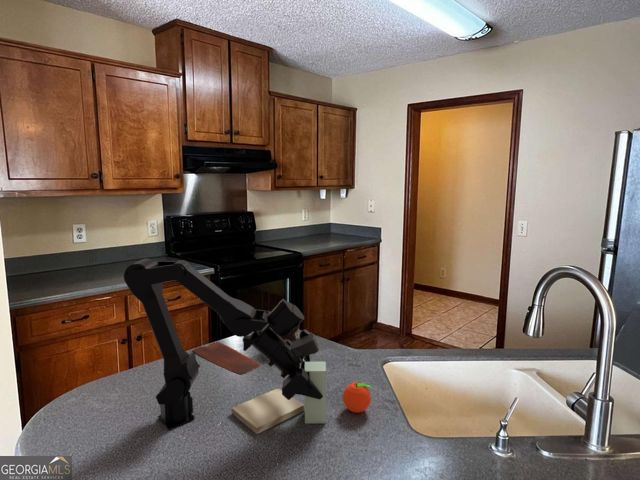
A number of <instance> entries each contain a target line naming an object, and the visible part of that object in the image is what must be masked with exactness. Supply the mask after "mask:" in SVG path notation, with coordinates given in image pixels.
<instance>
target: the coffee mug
mask: <svg viewBox="0 0 640 480" xmlns="http://www.w3.org/2000/svg"><path fill="white" fill-rule="evenodd" d="M300 325H301V323H300V324H299V325H298V326H297V327H296V328H295V329H294V330H293V331H291V332H290V333H289V334H288V335H287V336H283V337H282V336H280V337H281V338H282V339H283V340H284V341H285V340H286V339H287V340H288V339H289V340H290V341H291V342H294V341H296V340H297V338H298V339H299V336H300Z"/></svg>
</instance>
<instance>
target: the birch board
mask: <svg viewBox="0 0 640 480" xmlns="http://www.w3.org/2000/svg"><path fill="white" fill-rule="evenodd" d="M302 412H305V403H302V402H301V401H300V400H298V399H296V398H295V397H294V396H293V397H292V398H291V399H290V400H287V399H286V398H285V397H284V396H283V395H282V389H280V388H275V389H273V390H271V391H268V392H266V393H263V394H261V395H259V396H256V397H254V398H251V399H249V400H247V401H245V402H242V403H240V404H238V405H235V406H233V407H232V408H231V414H232V415H233V416H235V418H237V419H238V420H239V421H240V422H242V423H243V424H244V425H245V426H247V427H248V428H249V429H250V430H252V432H254V433H255V434H256V435H258V434H261V433H263V432H265V431H266V430H268V429H270V428H272V427H274V426H276V425H279V424H280V423H282V422H285V421H286V420H288V419H291V418H293V417H294V416H297V415H299V414H300V413H302Z"/></svg>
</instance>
